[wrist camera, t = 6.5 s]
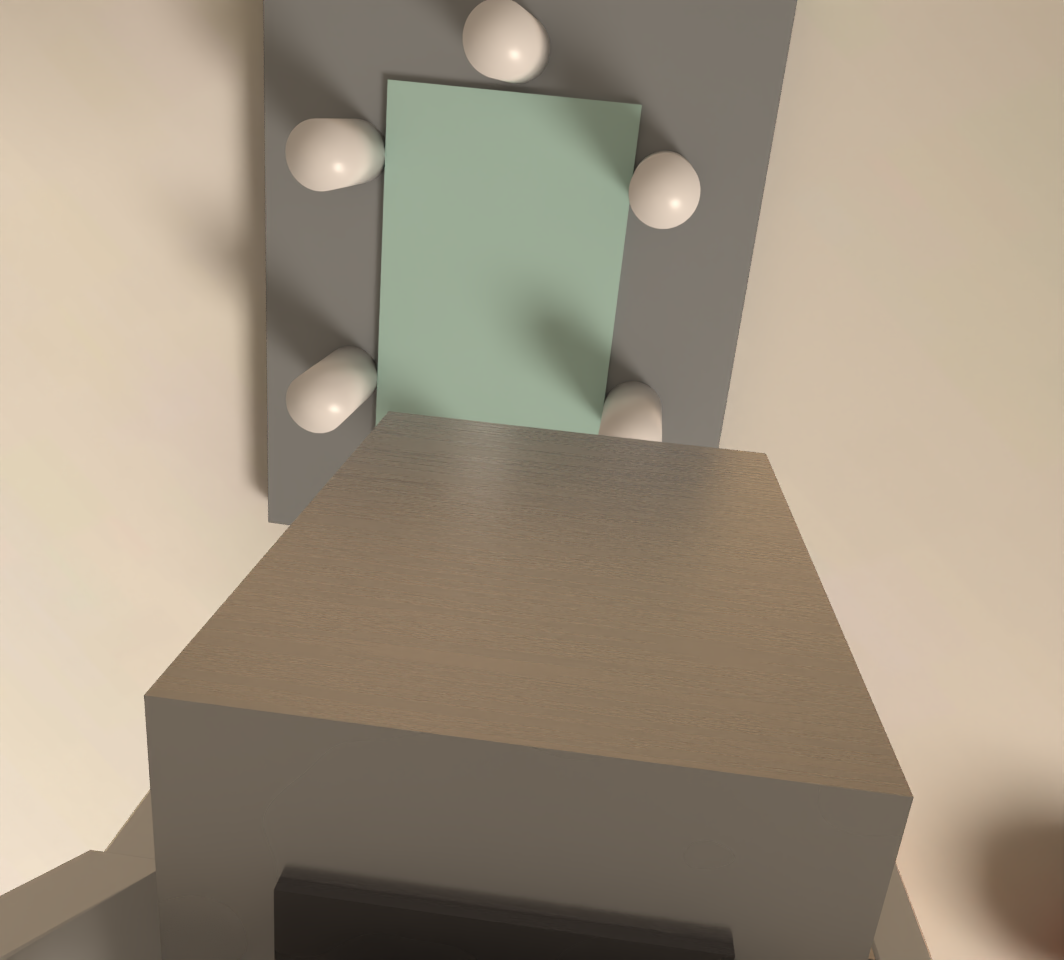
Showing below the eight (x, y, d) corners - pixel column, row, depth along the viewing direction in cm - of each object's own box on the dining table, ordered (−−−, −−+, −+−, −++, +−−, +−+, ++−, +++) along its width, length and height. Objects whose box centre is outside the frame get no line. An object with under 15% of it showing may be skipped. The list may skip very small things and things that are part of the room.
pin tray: (796, -23, 23) (823, -51, 19) (693, 567, 29) (698, 633, 25) (278, -68, 24) (208, -103, 20) (280, 509, 30) (226, 565, 26)
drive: (765, 453, 11) (918, 809, 5) (669, 975, 14) (698, 1582, 8) (388, 411, 11) (133, 704, 5) (370, 932, 14) (190, 1488, 8)
